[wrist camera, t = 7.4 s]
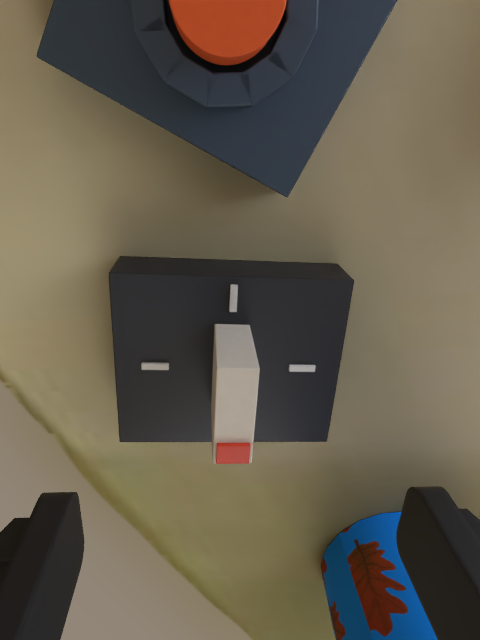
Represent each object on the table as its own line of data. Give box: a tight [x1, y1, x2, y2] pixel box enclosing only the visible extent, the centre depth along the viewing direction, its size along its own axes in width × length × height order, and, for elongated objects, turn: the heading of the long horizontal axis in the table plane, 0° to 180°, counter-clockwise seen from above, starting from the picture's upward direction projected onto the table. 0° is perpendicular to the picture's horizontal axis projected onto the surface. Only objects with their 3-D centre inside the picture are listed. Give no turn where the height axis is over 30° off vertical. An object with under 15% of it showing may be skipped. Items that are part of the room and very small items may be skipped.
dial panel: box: [109, 256, 354, 442], centre depth 24 cm, size 12×10×3 cm
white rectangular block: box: [211, 324, 260, 464], centre depth 21 cm, size 5×2×5 cm, turn 177°
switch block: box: [37, 0, 397, 197], centre depth 18 cm, size 12×10×4 cm
